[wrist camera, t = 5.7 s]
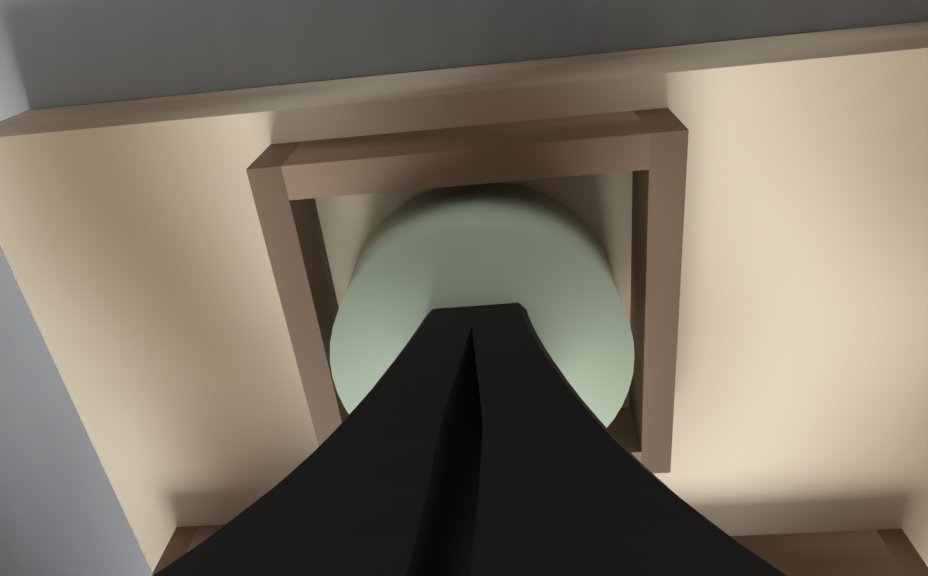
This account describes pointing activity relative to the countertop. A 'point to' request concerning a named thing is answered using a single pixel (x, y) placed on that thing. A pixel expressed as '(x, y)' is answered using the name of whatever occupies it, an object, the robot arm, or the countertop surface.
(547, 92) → the button panel
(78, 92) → the countertop surface
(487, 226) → the sage button
